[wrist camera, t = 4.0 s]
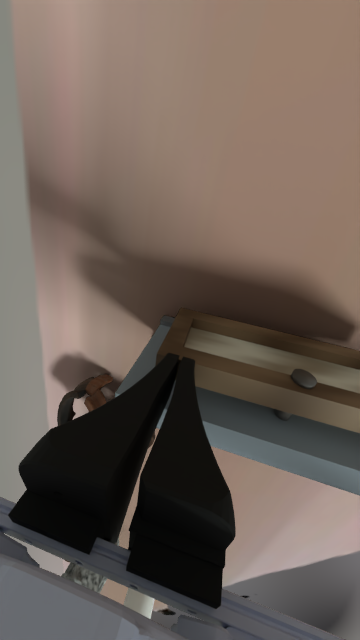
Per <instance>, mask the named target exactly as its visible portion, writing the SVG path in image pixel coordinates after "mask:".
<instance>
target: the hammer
mask: <svg viewBox="0 0 360 640" xmlns="http://www.w3.org/2000/svg"><path fill="white" fill-rule="evenodd" d="M115 545H118V546H119V537H118V540H117V542H116V543H115ZM64 560H65V559H64ZM65 561H67V560H65ZM67 562H69V561H67ZM61 577H64V578H66V579H68V580H71V581H73V582H75V583H77V584H80V585H82V586H84V587H86V588H88V589H91V590H93V591H95V592H97V593H99V594H100V592H101V590H102V588H103V586H104V584H105V582H106V580H107V578H106V577H103V576H101V575H99V574H97V573H94V572H92V571H90V570H87V569H85V568H83V567H81V566H78V565H76V564H74V563H70V564H69V566H68V568H67V570H66V571H65V573H63V574H62V576H61Z"/></svg>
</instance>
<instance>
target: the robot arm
mask: <svg viewBox="0 0 360 640" xmlns="http://www.w3.org/2000/svg"><path fill="white" fill-rule="evenodd" d="M179 356H180V355H176V354H173V353H167V354H166V356H165V357H164V358H163V359H162V360H161V361H160V362H159V363H158V364H157V365H156V366H155V367H154V368H153V369H152V370H151V371H150V372H149V373H147V374H146V375H145V376H144V377H143V378H142V379H140V380H139V381H138V382H137V383H135V384H134V385H133V386H131V387H130V388H129V389H127V390H126V391H124V392H123V393H122V394H120V395H119V396H117V397H115V398H114V399H112V400H110V401H109V402H107V403H105V404H104V405H102V406H100V407H98V408H96V409H94V410H92V411H90V412H88V413H86V414H84V415H82V416H80V417H78V418H76V419H74V420H71V421H69V422H67V423H64V424H62V425H60V426H57V427H55V428H52V429H50V430H49V431H48V432H47V433H46V435H44V436H43V437H42V438H41V439H40V440H39V441H38V443H37V444H36V445H35V446H34V447H33V448H32V450H31V451H30V452H29V453H28V454H27V456H26V457H25V458H24V459H23V460H22V462H21V463H20V465H19V473H20V476H21V478H22V480H23V482H24V484H25V486H26V488H27V490H26V491H25V493H24V494H23V495H22V497H21V498H20V499H19V501H18V502H17V504H16V503H14V502H11V501H8V500H6V499H4V498H1V497H0V640H345V639H343V638H340V637H338V636H335V635H333V634H331V633H328V632H326V631H323V630H321V629H318V628H316V627H314V626H311V625H309V624H306V623H304V622H302V621H299V620H297V619H294V618H292V617H289V616H287V615H285V614H282V613H280V612H277V611H275V610H273V609H270V608H268V607H265V606H263V605H260V604H258V603H255V602H253V601H251V600H248V599H246V598H243V597H241V596H239V595H236V594H234V593H231V592H229V591H227V590H224V589H222V573H223V568H224V567H225V551H226V548H227V547H228V546H229V545H230V544H231V542H232V541H233V540H234V538H235V518H234V510H233V504H232V498H231V493H230V490H229V488H228V486H227V484H226V482H225V480H224V477H223V475H222V473H221V471H220V469H219V466H218V464H217V461H216V459H215V457H214V454H213V451H212V449H211V446H210V443H209V440H208V438H207V435H206V432H205V428H204V425H203V422H202V418H201V414H200V410H199V405H198V400H197V395H196V387H195V375H194V368H195V360H194V359H191V358H187V357H183V358H182V360H181V363H180V365H179V369H178V374H177V378H176V382H175V376H176V371H177V366H178V361H179ZM174 382H175V387H174V391H173V395H172V398H171V401H170V404H169V407H168V409H167V412H166V415H165V417H164V420H163V422H162V425H161V427H160V430H159V432H158V435H157V437H156V440H155V442H154V445H153V447H152V450H151V452H150V454H149V457H148V459H147V461H146V464H145V466H144V468H143V471H142V473H141V476H140V484H139V493H138V502H137V507H136V510H135V513H134V516H133V519H132V522H131V524H130V528H129V531H130V538H129V548H128V550H127V549H125V548H122V547H120V546H118V545H115V543H116V542H117V540H118V537H119V534H120V531H121V527H122V524H123V521H124V518H125V515H126V512H127V509H128V506H129V503H130V500H131V497H132V494H133V491H134V488H135V485H136V482H137V479H138V476H139V473H140V470H141V467H142V464H143V461H144V458H145V455H146V452H147V449H148V446H149V443H150V441H151V438H152V436H153V433H154V431H155V429H156V427H157V424H158V422H159V420H160V418H161V416H162V413H163V411H164V409H165V407H166V404H167V402H168V400H169V397H170V394H171V391H172V388H173V385H174ZM4 533H5V534H8V535H10V536H12V537H14V538H17V539H19V540H21V541H23V542H26V543H28V544H30V545H33V546H35V547H37V548H40V549H42V550H44V551H46V552H49V553H51V554H53V555H56V556H58V557H60V558H62V559H65V560H67V561H69V562H71V563H74V564H76V565H78V566H81V567H83V568H85V569H87V570H90V571H92V572H94V573H97V574H99V575H101V576H103V577H106V578H108V579H110V580H113V581H115V582H117V583H119V584H122V585H124V586H126V587H129V588H131V589H133V590H135V591H138V592H140V593H142V594H145V595H147V596H149V597H151V598H154V599H156V600H158V601H161V602H163V603H165V604H167V605H170V606H172V607H174V608H177V609H179V610H181V611H183V612H186V613H188V614H190V615H193V616H195V617H197V618H200V619H202V620H199V619H196V618H192V617H189V616H185V615H180V616H179V617H178V622H177V624H173V625H172V627H171V630H170V629H168V628H166V627H164V626H162V625H160V624H159V623H157V622H155V621H153V620H151V619H149V618H147V617H145V616H143V615H141V614H140V613H138V612H136V611H134V610H132V609H130V608H128V607H126V606H124V605H122V604H120V603H118V602H116V601H114V600H112V599H110V598H108V597H105V596H103V595H101V594H99V593H97V592H95V591H93V590H91V589H88V588H86V587H84V586H82V585H80V584H77V583H75V582H73V581H71V580H68V579H66V578H64V577H61V576H59V575H56V574H54V573H52V572H49V571H47V570H44V569H42V568H39V564H38V563H37V562H36V561H35V560H33V559H32V558H31V557H30V555H29V554H28V552H27V548H26V547H25V546H23V545H22V544H20V543H18V542H17V541H15V540H13V539H11V538H10V537H8V536H6V535H5V534H4ZM203 620H204V621H203Z"/></svg>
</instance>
